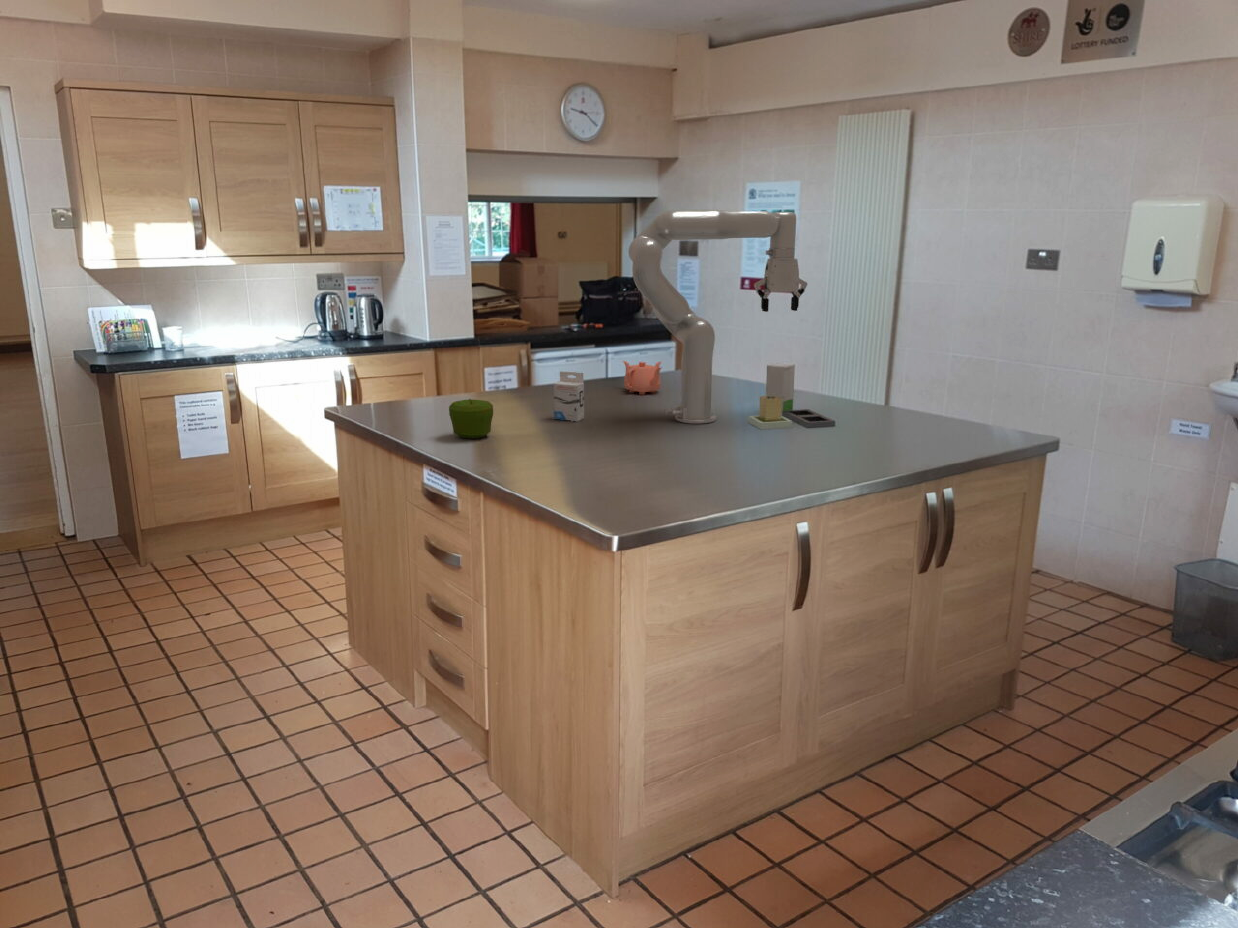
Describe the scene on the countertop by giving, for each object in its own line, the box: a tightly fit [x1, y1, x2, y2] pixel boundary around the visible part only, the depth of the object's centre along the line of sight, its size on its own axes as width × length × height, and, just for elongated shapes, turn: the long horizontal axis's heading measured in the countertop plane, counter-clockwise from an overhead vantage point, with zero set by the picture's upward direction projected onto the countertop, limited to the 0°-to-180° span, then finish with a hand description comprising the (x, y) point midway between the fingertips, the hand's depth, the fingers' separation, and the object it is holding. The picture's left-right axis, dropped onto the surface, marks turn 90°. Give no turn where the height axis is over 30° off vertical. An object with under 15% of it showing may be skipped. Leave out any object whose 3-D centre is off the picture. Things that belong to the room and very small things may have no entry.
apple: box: [448, 398, 494, 439], centre depth 267 cm, size 12×12×11 cm
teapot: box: [622, 360, 663, 396], centre depth 332 cm, size 14×14×11 cm
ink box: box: [553, 371, 585, 422], centre depth 288 cm, size 8×5×15 cm, turn 69°
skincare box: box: [765, 362, 796, 415], centre depth 299 cm, size 8×7×16 cm
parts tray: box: [747, 415, 794, 431], centre depth 280 cm, size 10×10×2 cm
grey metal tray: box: [781, 408, 836, 429], centre depth 285 cm, size 9×18×2 cm, turn 15°
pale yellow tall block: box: [758, 395, 782, 422], centre depth 279 cm, size 5×5×9 cm
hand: (779, 310), depth 285 cm, fingers open, 9 cm apart
